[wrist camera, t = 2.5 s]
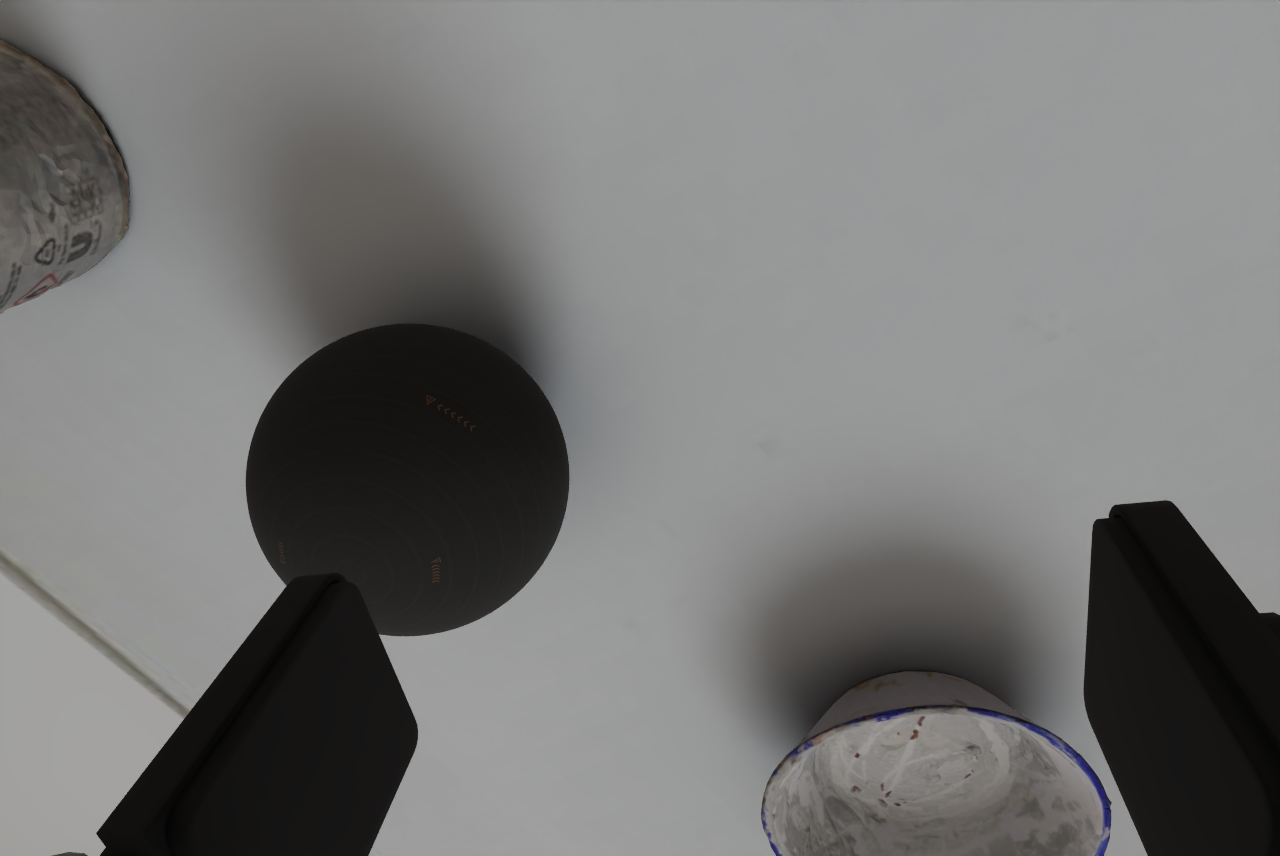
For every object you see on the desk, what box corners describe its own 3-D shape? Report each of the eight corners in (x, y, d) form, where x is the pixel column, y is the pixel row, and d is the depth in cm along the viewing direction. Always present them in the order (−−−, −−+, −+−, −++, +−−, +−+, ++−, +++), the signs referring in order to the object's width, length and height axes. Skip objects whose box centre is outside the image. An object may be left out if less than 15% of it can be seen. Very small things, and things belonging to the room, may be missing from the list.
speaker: (367, 517, 35) (236, 699, 26) (305, 285, 30) (120, 413, 22) (605, 520, 33) (550, 713, 25) (578, 276, 29) (498, 409, 20)
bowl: (1134, 762, 36) (1183, 868, 32) (882, 867, 41) (896, 970, 37) (956, 570, 33) (984, 660, 28) (706, 712, 38) (698, 806, 34)
